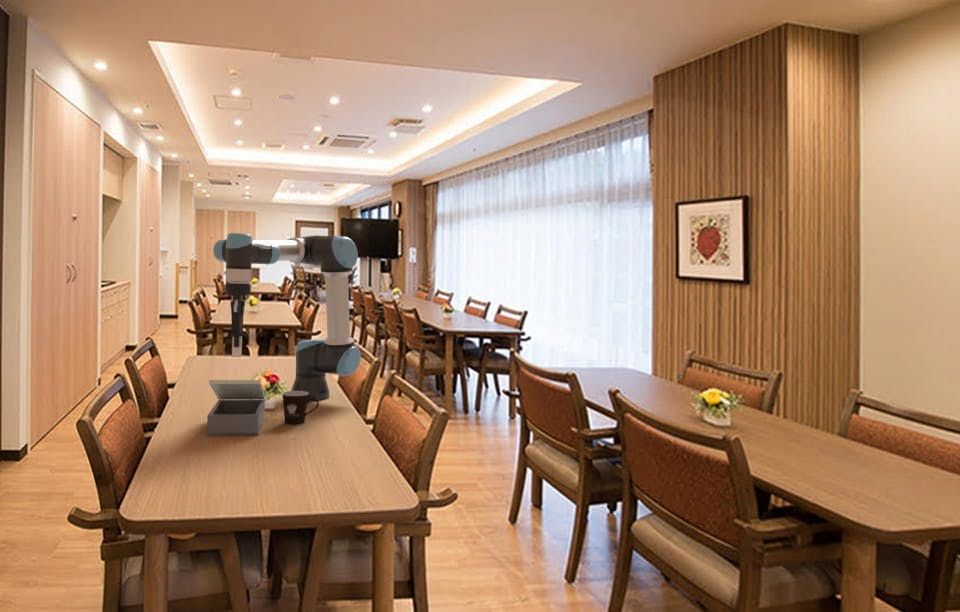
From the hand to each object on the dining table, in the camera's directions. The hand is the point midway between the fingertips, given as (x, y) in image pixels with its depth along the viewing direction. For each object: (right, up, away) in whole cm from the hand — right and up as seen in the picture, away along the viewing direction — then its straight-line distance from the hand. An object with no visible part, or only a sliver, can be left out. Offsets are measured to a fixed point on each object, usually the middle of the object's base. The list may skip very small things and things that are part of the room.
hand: (236, 356), depth 210 cm
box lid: (-2, -12, +7) cm, 14 cm away
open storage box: (-2, -23, +7) cm, 24 cm away
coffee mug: (+15, -24, +15) cm, 32 cm away
